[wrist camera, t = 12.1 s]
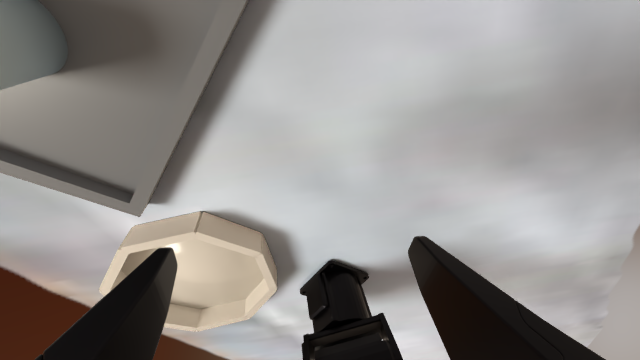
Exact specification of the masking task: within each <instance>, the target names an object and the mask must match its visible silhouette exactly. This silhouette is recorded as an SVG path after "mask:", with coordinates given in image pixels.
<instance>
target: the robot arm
mask: <svg viewBox="0 0 640 360" xmlns="http://www.w3.org/2000/svg"><path fill="white" fill-rule="evenodd" d="M408 255H409V259H410V262H411V265H412V268H413V271H414V274H415V277H416V280H417V283H418V286H419V289H420V291H421V294H422V296H423V299H424V301H425V303H426V305H427V308H428V310H429V312H430V314H431V317H432V319H433V321H434V323H435V326H436V328H437V330H438V333H439V335H440V337H441V339H442V342H443V344H444V346H445V348H446V351H447V353H448V355H449V357H450V360H605V359H604V358H602V357H600V356H599V355H597V354H596V353H594V352H593V351H591V350H590V349H588V348H587V347H585V346H583V345H582V344H580V343H579V342H577V341H576V340H574V339H572V338H571V337H569V336H568V335H566V334H565V333H563V332H561V331H560V330H558V329H557V328H555V327H554V326H552V325H551V324H549V323H548V322H546V321H545V320H543V319H542V318H540V317H539V316H537V315H536V314H534V313H533V312H531V311H530V310H529V309H527V308H526V307H524V306H523V305H522V304H520V303H519V302H517V301H515V300H514V299H513V298H512V297H510V296H509V295H507V294H506V293H505V292H503V291H502V290H500V289H499V288H497V287H496V286H495V285H493V284H492V283H490V282H489V281H488V280H486V279H485V278H483V277H482V276H481V275H479V274H478V273H476V272H475V271H473V270H472V269H471V268H469V267H468V266H466V265H465V264H464V263H462V262H461V261H459V260H458V259H457V258H455V257H454V256H452V255H451V254H450V253H448V252H447V251H445V250H444V249H442V248H441V247H440V246H438V245H437V244H435V243H434V242H433V241H431V240H430V239H428V238H427V237H425V236H416V237H415V238H414V239H413V241H412V243H411V245H410V247H409V250H408ZM177 267H178V265H177V260H176V257H175V253H174V250H173V248H171V247H165V248H158V249H156V250H155V251H154V252H153V253H152V254H151V255H150V256H149V257H148V258H146V259H145V260H144V261H143V262H142V263H141V264H140V265H139V266H138V267H137V268H135V269H134V270H133V271H132V272H131V273H130V274H129V275H128V276H127V277H125V278H124V279H123V280H122V281H121V282H120V283H119V284H118V285H117V286H116V287H114V288H113V289H112V290H111V291H110V292H109V293H108V294H107V295H106V296H104V297H103V298H102V299H101V300H100V301H99V302H98V303H97V304H96V305H95V306H93V307H92V308H91V309H90V310H89V311H88V312H87V313H86V314H85V315H84V316H82V317H81V318H80V319H79V320H78V321H77V322H76V323H75V324H74V325H72V326H71V327H70V328H69V329H68V330H67V331H66V332H65V333H64V334H63V335H61V336H60V337H59V338H58V339H57V340H56V341H55V342H54V343H53V344H52V345H51V346H49V347H48V348H47V349H46V350H45V351H44V352H43V355H39V356H38V357H37V358H36V359H35V360H153V356H154V354H155V351H156V348H157V345H158V342H159V339H160V336H161V333H162V330H163V327H164V324H165V321H166V318H167V314H168V310H169V306H170V301H171V296H172V292H173V287H174V282H175V278H176V273H177ZM368 278H369V275H368V273H366V272H363V271H360V270H358V269H355V268H352V267H349V266H347V265H344V264H341V263H338V262H335V261H328V262H327V263H326V264H325V265H324V266H323V267H322V268H321V269H320V270H319V271H318V272H317V273H316V274H315V275H314V276H313V277H312V278H311V279H310V280H309V281H308V282H307V283H306V284H305V285H304V286H303V287H302V288H301V289H300V294H301V295H305V296H307V302H308V310H309V317H310V319H311V320H312V321H313V328H314V333H313V334H305V335H304V343H302V353H303V360H403V359H402V356H401V353H400V351H399V348H398V346H397V344H396V341H395V339H394V337H393V335H392V332H391V330H390V328H389V325H388V323H387V321H386V318H385V316H384V314H383V313H379V314H378V315H376V316H372V315H371V312H370V309H369V306H368V303H367V300H366V297H365V294H364V291H363V288H362V284H363V283H364V282H365V281H366V280H367V279H368ZM382 339H383V341H382Z"/></svg>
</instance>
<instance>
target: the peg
mask: <svg viewBox="0 0 640 360" xmlns="http://www.w3.org/2000/svg"><path fill="white" fill-rule="evenodd" d="M67 56H68V46H67V41H66V38H65V35H64V33H63V31H62V29H61V27H60V25H59V24H58V22H57V21H56V19H55V18H54V17H53V15H52V14H51V13H50V12H49V11H48V10H47V9H46V8H45V7H44V6H43V5H42V4H41V3H40V2H39V1H38V0H0V90H3V89H6V88H9V87H12V86H16V85H19V84H22V83H25V82H29V81H32V80H35V79H38V78H42V77H45V76H48V75H51V74H54V73H56V72H58V71H59V70H60V69H61V68H62V67H63V66H64V64H65V63H66V60H67Z"/></svg>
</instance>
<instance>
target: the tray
mask: <svg viewBox="0 0 640 360" xmlns="http://www.w3.org/2000/svg"><path fill="white" fill-rule="evenodd" d="M38 1H39V2H40V3H41V4H42V5H43V6H44V7H45V8H46V9H47V10H48V11H49V12H50V13H51V14H52V15H53V17H54V18H55V19H56V21H57V22H58V24H59V25H60V27H61V29H62V31H63V33H64V35H65V38H66V41H67V46H68V56H67V60H66V63H65V64H64V66H63V67H62V68H61V69H60V70H59V71H58V72H56V73H54V74H51V75H48V76H45V77H42V78H38V79H35V80H32V81H29V82H25V83H22V84H19V85H16V86H12V87H9V88H6V89H3V90H0V173H3V174H6V175H10V176H13V177H16V178H19V179H22V180H25V181H28V182H32V183H35V184H38V185H41V186H44V187H47V188H50V189H53V190H57V191H60V192H63V193H66V194H69V195H72V196H75V197H79V198H82V199H85V200H88V201H91V202H94V203H97V204H100V205H104V206H107V207H110V208H113V209H116V210H119V211H122V212H126V213H129V214H132V215H135V216H138V217H140V216H141V214H142V213H143V211H144V210H145V208H146V206H147V205H148V203H149V201H150V199H151V197H152V195H153V193H154V191H155V189H156V187H157V185H158V183H159V181H160V179H161V177H162V175H163V173H164V171H165V169H166V167H167V165H168V163H169V161H170V159H171V157H172V155H173V153H174V151H175V149H176V147H177V145H178V143H179V141H180V139H181V137H182V135H183V133H184V131H185V128H186V126H187V124H188V122H189V120H190V118H191V116H192V114H193V112H194V110H195V108H196V106H197V104H198V102H199V100H200V98H201V96H202V94H203V92H204V90H205V88H206V86H207V84H208V82H209V80H210V78H211V76H212V74H213V72H214V70H215V68H216V66H217V64H218V62H219V60H220V58H221V56H222V54H223V52H224V50H225V48H226V46H227V44H228V42H229V40H230V38H231V36H232V34H233V32H234V30H235V28H236V26H237V24H238V22H239V20H240V18H241V16H242V14H243V12H244V10H245V8H246V6H247V4H248V2H249V0H38Z"/></svg>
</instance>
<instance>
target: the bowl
mask: <svg viewBox="0 0 640 360" xmlns="http://www.w3.org/2000/svg"><path fill="white" fill-rule="evenodd" d="M165 247H171V248H173V250H174V253H175V257H176V260H177V265H178V267H177V273H176V278H175V282H174V287H173V292H172V296H171V301H170V306H169V310H168V314H167V318H166V321H165V324H164V327H167V328H174V329H181V330H187V331H194V332H196V330H197V331H202V330H206V329H210V328H215V327H219V326H223V325H227V324H231V323H235V322H239V321H243V320H247V319H249V318H251V317H252V316H253V315H254V314H255V313H256V312H257V311H258V310H259V309H260V308H261V307H262V305H263V304H264V303H265V302H266V301H267V300H268V299H269V298H270V297H271V296H272V295H273V294H274V293H275V292H276V291H277V268H276V266H275V263H274V261H273V258H272V256H271V253H270V251H269V248H268V246H267V243H266V241H265V238H264V236H263V234H261V232H258V231H255V230H252V229H250V228H247V227H244V226H241V225H239V224H236V223H233V222H230V221H228V220H225V219H222V218H219V217H217V216H214V215H211V214H209V213H206V212H203V213H201V211H200V212H195V213H191V214H186V215H181V216H177V217H172V218H168V219H163V220H158V221H154V222H149V223H144V224H140V225H135V226H134V227H132V228H131V230H130V231H129V233H128V234H127V236H126V238H125V239H124V241H123V242H122V244H121V245H120V247H119V249H118V251H117V253H116V255H115V257H114V259H113V261H112V263H111V265H110V267H109V269H108V271H107V273H106V276H105V278H104V280H103V282H102V284H101V286H100V288H99V290H100V291H99V292H101V293H102V294H103V295H104V296H106V295H107V294H108V293H109V292H110V291H111V290H112V289H113V288H114V287H116V286H117V285H118V284H119V283H120V282H121V281H122V280H123V279H124V278H125V277H127V276H128V275H129V274H130V273H131V272H132V271H133V270H134V269H135V268H137V267H138V266H139V265H140V264H141V263H142V262H143V261H144V260H145V259H146V258H148V257H149V256H150V255H151V254H152V253H153V252H154V251H155V250H156V249H158V248H165Z"/></svg>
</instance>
